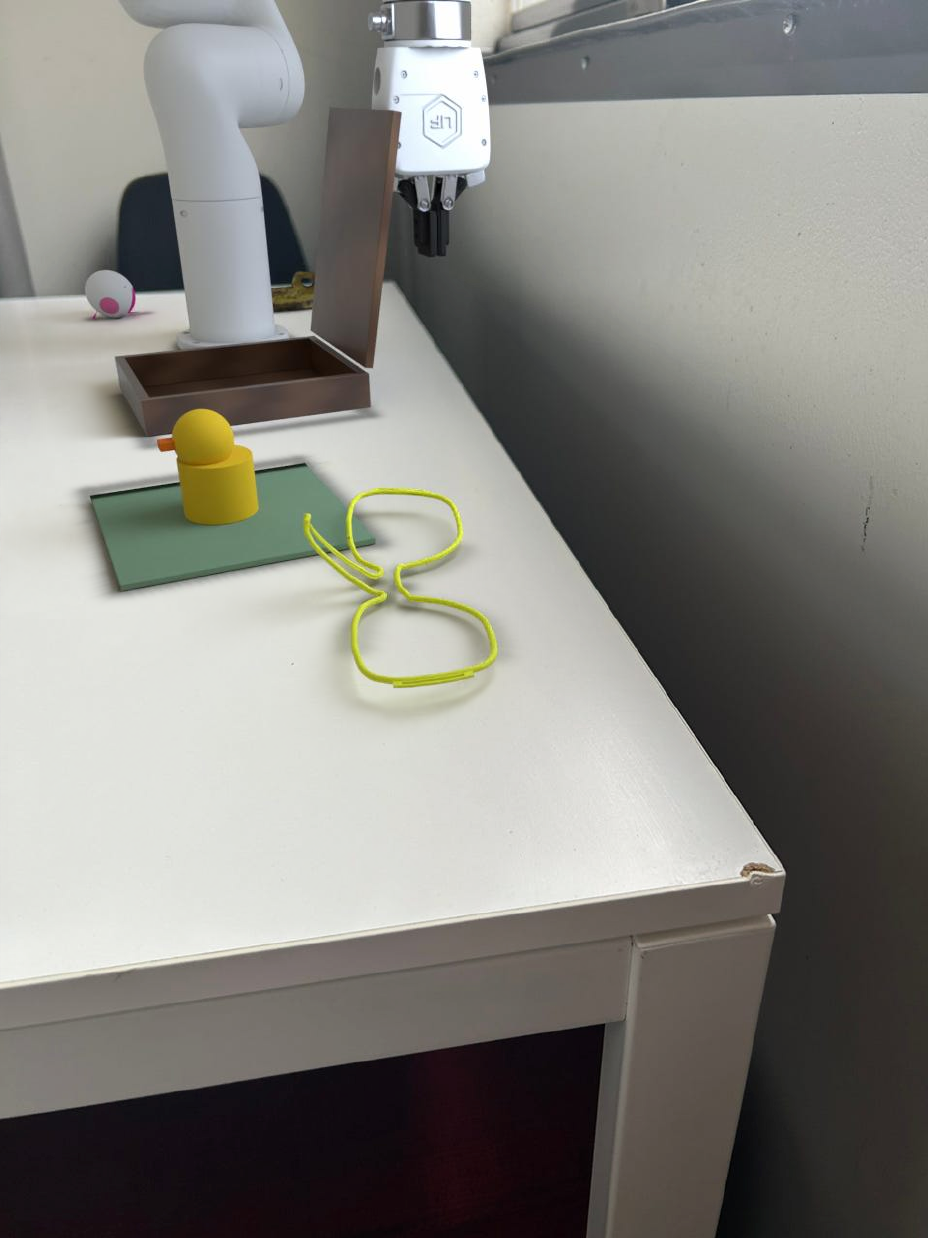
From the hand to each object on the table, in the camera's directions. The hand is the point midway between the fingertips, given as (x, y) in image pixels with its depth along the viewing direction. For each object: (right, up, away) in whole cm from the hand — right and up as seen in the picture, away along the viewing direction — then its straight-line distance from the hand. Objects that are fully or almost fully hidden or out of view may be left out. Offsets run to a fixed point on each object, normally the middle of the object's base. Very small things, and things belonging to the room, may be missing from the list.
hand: (431, 254), depth 93 cm
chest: (-18, -15, -1) cm, 23 cm away
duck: (-14, -27, -25) cm, 39 cm away
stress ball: (-42, +5, +35) cm, 54 cm away
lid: (-8, 0, -4) cm, 9 cm away
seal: (-23, +8, +40) cm, 47 cm away
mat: (-14, -27, -25) cm, 39 cm away
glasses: (-1, -33, -35) cm, 48 cm away
